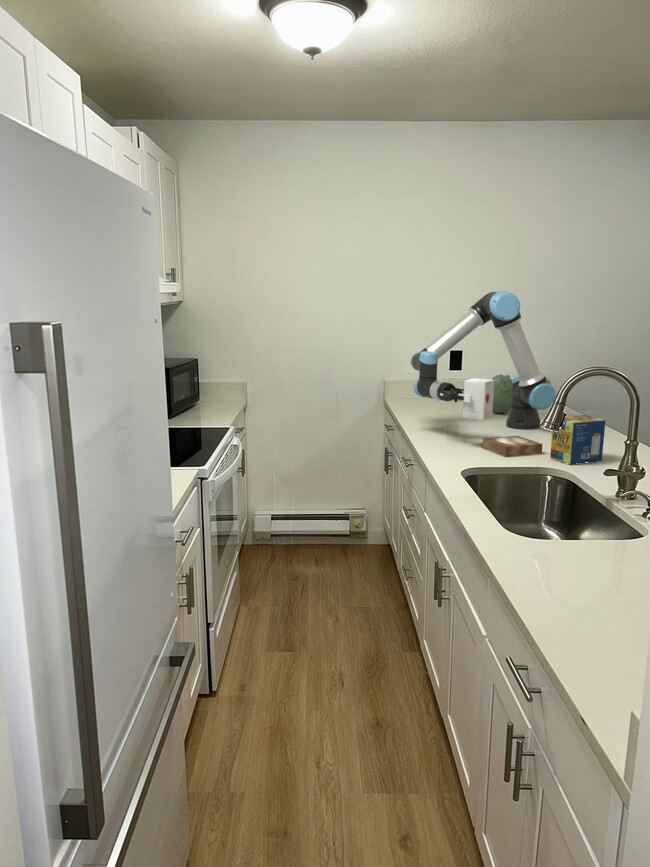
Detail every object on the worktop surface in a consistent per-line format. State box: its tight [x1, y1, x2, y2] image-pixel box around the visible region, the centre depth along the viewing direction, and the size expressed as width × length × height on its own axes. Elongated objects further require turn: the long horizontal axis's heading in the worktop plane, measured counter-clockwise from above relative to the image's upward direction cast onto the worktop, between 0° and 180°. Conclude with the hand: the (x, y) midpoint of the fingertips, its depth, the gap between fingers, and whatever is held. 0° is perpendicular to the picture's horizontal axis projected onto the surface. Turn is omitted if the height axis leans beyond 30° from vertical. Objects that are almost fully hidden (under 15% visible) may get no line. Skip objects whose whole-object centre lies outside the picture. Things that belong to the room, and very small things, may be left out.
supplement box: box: [462, 377, 494, 421], centre depth 266 cm, size 9×9×15 cm
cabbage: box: [491, 373, 513, 414], centre depth 346 cm, size 16×19×20 cm
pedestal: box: [481, 435, 544, 458], centre depth 263 cm, size 16×16×4 cm
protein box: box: [549, 414, 606, 465], centre depth 248 cm, size 10×15×16 cm
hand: (482, 398), depth 265 cm, fingers closed on supplement box, 11 cm apart
